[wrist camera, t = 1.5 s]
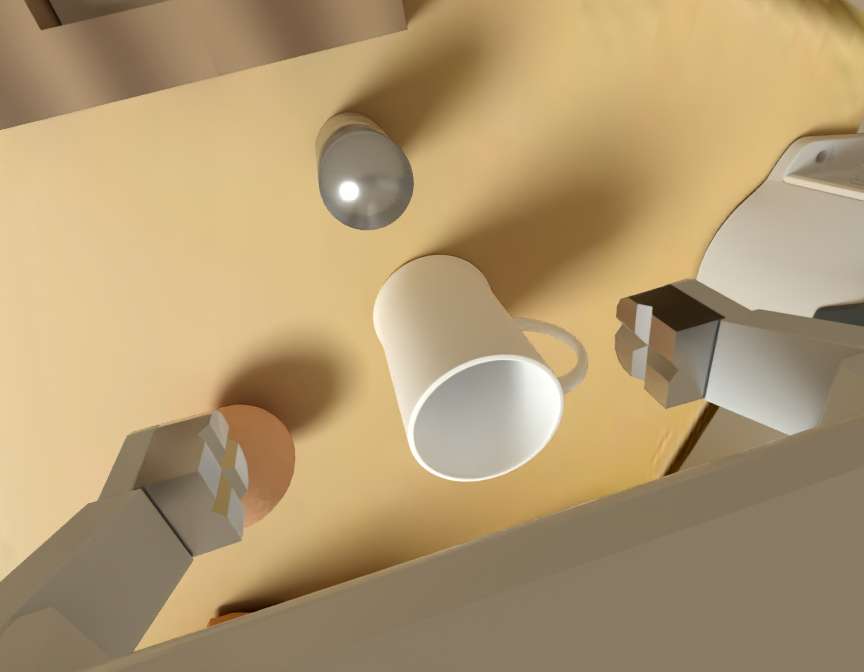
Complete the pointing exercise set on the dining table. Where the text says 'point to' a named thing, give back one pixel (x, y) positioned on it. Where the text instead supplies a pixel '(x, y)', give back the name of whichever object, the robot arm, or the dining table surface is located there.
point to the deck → (160, 45)
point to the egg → (261, 457)
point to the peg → (362, 172)
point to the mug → (468, 370)
